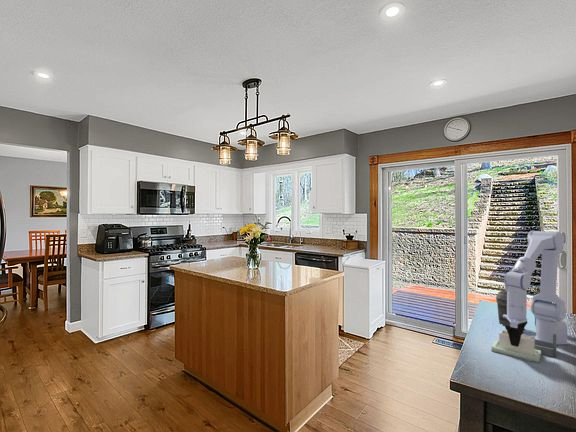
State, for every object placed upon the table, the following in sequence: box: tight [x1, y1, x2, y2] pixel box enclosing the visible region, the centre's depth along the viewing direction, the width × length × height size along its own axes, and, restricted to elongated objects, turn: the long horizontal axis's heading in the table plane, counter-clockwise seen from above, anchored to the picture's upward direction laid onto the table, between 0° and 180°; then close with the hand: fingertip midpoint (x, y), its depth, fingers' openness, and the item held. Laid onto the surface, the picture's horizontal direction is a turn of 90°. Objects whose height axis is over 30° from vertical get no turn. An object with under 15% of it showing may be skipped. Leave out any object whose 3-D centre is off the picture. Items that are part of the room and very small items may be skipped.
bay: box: [535, 328, 557, 358], centre depth 114 cm, size 7×8×8 cm
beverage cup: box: [495, 289, 510, 326], centre depth 142 cm, size 7×7×20 cm
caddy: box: [498, 329, 535, 356], centre depth 112 cm, size 10×5×6 cm, turn 48°
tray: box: [491, 339, 542, 364], centre depth 112 cm, size 14×9×2 cm, turn 48°
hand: (516, 342), depth 112 cm, fingers open, 7 cm apart
